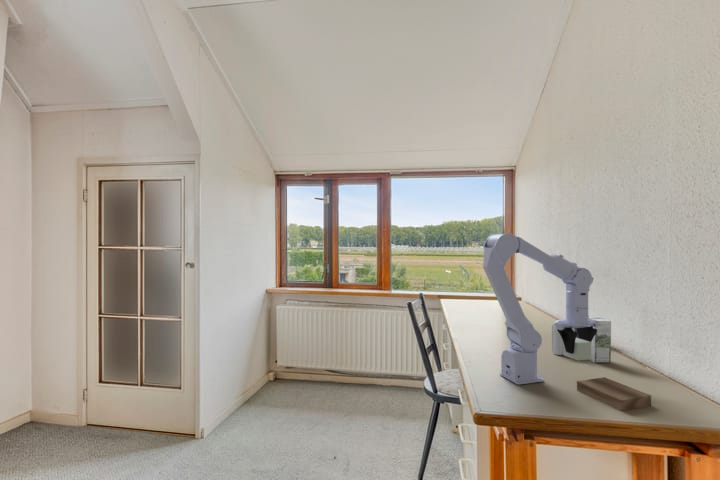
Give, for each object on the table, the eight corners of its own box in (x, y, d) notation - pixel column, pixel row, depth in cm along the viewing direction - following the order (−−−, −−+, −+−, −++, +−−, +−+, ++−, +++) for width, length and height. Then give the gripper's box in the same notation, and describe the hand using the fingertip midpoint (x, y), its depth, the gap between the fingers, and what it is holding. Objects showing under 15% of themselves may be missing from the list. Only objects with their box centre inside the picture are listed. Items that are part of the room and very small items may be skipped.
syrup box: (598, 357, 121) (598, 316, 121) (611, 363, 115) (611, 320, 115) (583, 357, 121) (582, 316, 121) (595, 363, 115) (594, 320, 115)
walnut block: (621, 412, 82) (621, 400, 82) (576, 392, 94) (576, 381, 94) (651, 407, 85) (650, 395, 85) (604, 387, 97) (604, 377, 97)
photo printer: (564, 348, 131) (563, 316, 131) (576, 351, 127) (576, 318, 128) (550, 353, 125) (549, 319, 126) (562, 356, 122) (562, 322, 122)
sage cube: (577, 360, 100) (577, 343, 100) (563, 355, 105) (563, 338, 105) (591, 358, 101) (591, 342, 101) (576, 353, 106) (576, 337, 106)
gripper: (569, 310, 97) (569, 358, 97) (608, 308, 101) (608, 354, 101) (549, 306, 104) (549, 350, 104) (586, 304, 108) (586, 347, 108)
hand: (576, 352), depth 103 cm, fingers closed on sage cube, 5 cm apart
